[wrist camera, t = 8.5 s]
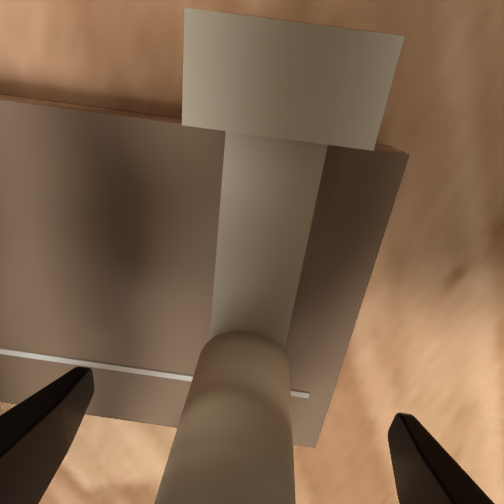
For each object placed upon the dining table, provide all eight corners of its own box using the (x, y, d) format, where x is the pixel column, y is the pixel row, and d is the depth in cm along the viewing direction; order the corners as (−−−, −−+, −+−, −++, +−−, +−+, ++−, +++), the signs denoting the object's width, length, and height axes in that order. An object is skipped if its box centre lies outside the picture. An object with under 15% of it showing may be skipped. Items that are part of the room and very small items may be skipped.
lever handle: (203, 359, 16) (125, 629, 8) (225, 47, 10) (22, -152, 2) (282, 370, 16) (288, 654, 8) (348, 63, 10) (633, -78, 2)
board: (-48, 360, 18) (-86, 390, 16) (-157, 73, 12) (-238, 68, 10) (311, 412, 18) (315, 449, 16) (388, 145, 12) (410, 154, 10)
